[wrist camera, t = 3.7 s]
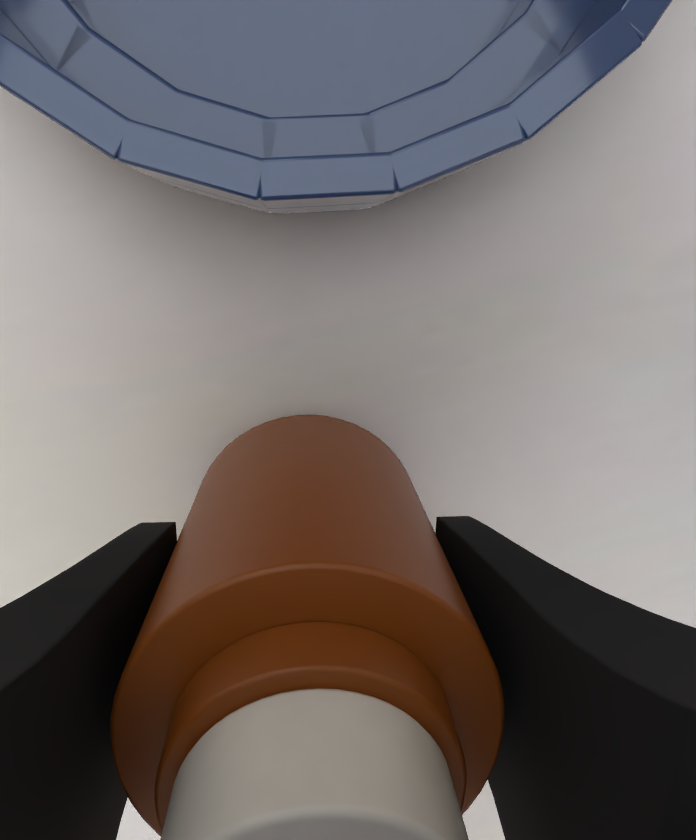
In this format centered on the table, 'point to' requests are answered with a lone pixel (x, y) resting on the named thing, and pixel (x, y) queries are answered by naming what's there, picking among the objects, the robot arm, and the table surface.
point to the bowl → (311, 86)
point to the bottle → (307, 656)
